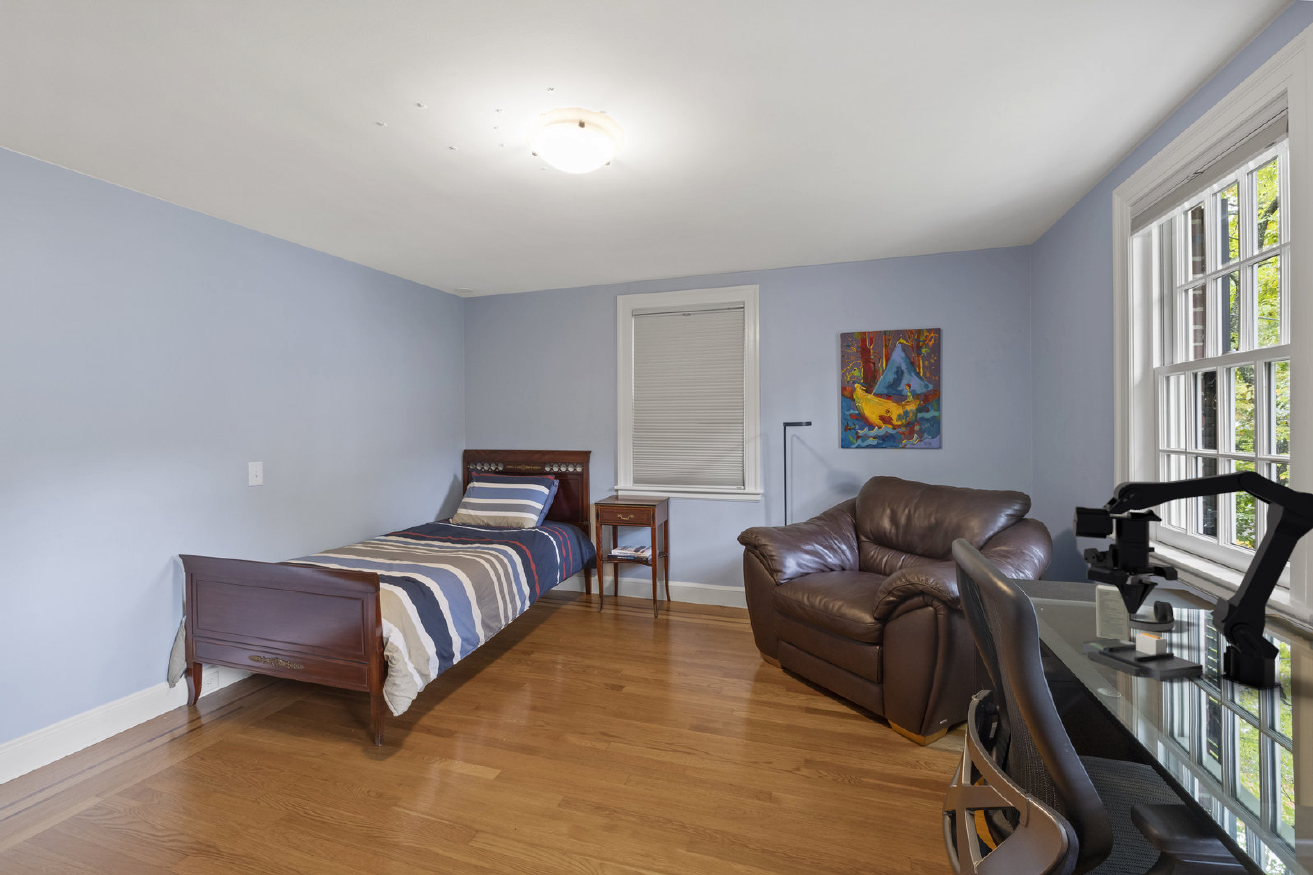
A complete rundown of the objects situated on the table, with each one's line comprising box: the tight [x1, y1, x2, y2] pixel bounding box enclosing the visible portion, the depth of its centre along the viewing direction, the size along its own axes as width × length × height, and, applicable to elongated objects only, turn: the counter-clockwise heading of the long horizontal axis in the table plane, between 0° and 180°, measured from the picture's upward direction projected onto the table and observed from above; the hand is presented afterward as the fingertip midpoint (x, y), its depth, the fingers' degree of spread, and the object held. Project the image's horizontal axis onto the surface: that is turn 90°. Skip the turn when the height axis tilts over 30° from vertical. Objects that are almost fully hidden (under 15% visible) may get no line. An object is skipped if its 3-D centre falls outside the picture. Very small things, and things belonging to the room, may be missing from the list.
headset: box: [1129, 600, 1175, 633], centre depth 156 cm, size 14×10×20 cm
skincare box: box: [1095, 584, 1131, 641], centre depth 143 cm, size 6×4×12 cm
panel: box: [1081, 639, 1204, 682], centre depth 127 cm, size 16×12×3 cm
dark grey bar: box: [1086, 651, 1141, 677], centre depth 125 cm, size 10×1×1 cm, turn 15°
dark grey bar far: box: [1082, 638, 1120, 644], centre depth 136 cm, size 1×10×1 cm, turn 105°
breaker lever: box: [1135, 632, 1167, 655], centre depth 127 cm, size 4×3×4 cm
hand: (1131, 613), depth 126 cm, fingers closed
